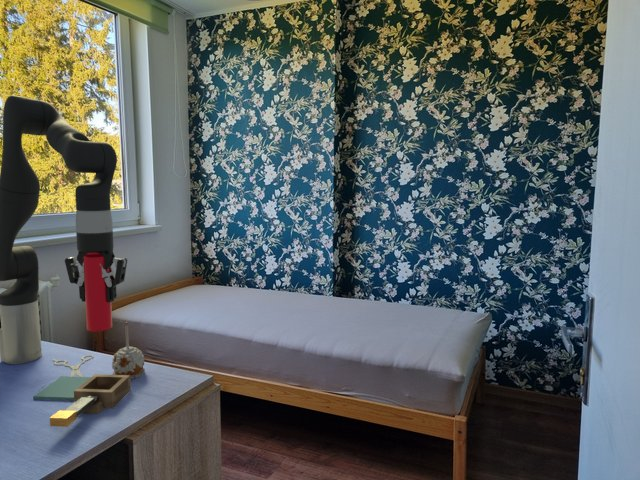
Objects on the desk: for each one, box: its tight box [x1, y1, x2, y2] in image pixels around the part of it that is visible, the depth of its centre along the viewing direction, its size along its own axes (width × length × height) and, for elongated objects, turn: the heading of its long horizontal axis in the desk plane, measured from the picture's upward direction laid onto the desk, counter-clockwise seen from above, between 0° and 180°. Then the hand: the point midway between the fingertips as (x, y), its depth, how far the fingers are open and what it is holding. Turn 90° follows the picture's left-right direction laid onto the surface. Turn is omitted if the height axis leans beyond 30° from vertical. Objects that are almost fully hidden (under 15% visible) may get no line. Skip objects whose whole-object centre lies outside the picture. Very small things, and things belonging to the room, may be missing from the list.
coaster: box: [32, 375, 92, 402], centre depth 112 cm, size 11×11×1 cm
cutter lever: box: [49, 396, 99, 428], centre depth 96 cm, size 12×4×2 cm, turn 178°
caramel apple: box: [111, 321, 145, 380], centre depth 119 cm, size 8×8×15 cm
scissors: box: [51, 354, 94, 377], centre depth 124 cm, size 11×1×20 cm
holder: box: [73, 373, 131, 415], centre depth 106 cm, size 9×12×4 cm
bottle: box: [83, 252, 113, 333], centre depth 103 cm, size 5×5×20 cm
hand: (98, 300), depth 104 cm, fingers closed on bottle, 5 cm apart
